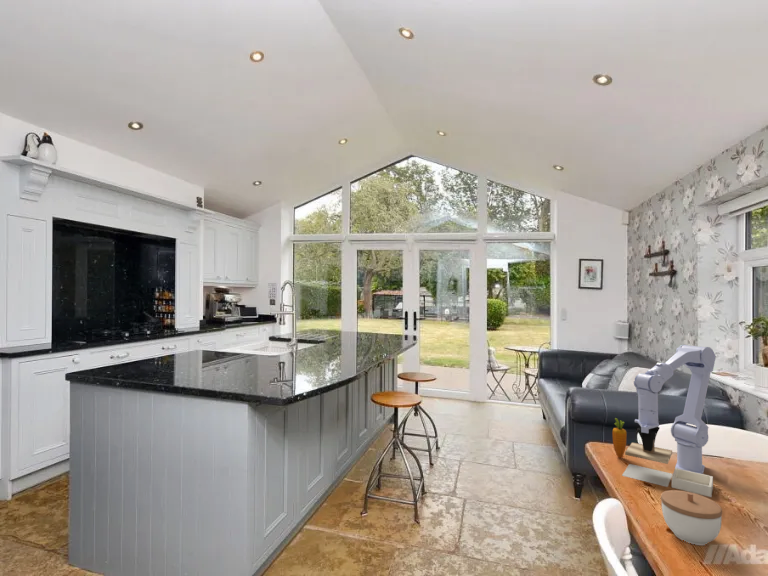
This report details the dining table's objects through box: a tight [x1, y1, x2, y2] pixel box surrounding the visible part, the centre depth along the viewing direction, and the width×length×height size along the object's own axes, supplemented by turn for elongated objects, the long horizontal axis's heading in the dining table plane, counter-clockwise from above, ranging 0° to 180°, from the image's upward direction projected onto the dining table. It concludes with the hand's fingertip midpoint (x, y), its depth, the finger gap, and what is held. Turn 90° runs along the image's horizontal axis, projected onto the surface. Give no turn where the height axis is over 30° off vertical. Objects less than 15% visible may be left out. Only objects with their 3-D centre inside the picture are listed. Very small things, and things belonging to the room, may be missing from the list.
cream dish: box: [671, 467, 714, 498], centre depth 132 cm, size 10×10×4 cm
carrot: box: [612, 417, 628, 459], centre depth 157 cm, size 5×5×15 cm
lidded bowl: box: [660, 489, 723, 546], centre depth 105 cm, size 13×13×11 cm
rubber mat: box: [621, 463, 673, 488], centre depth 141 cm, size 13×13×1 cm
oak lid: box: [624, 441, 673, 465], centre depth 141 cm, size 12×12×5 cm
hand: (648, 448), depth 141 cm, fingers closed on oak lid, 3 cm apart
